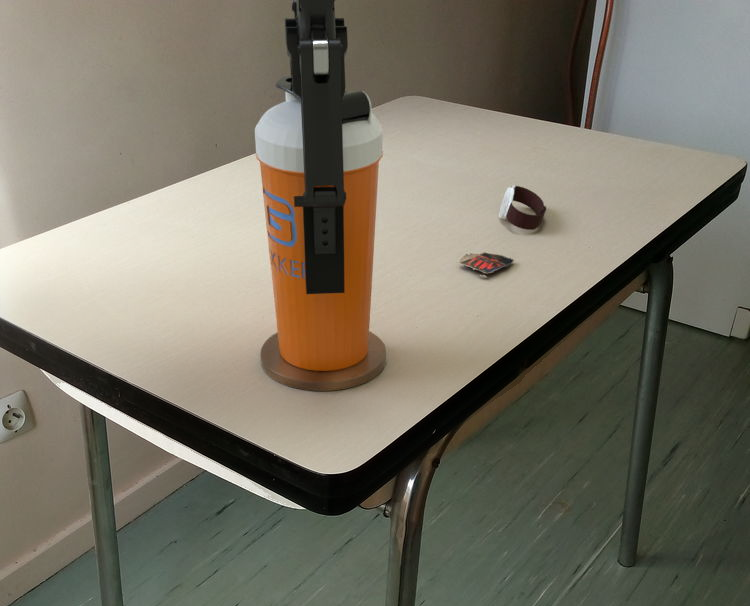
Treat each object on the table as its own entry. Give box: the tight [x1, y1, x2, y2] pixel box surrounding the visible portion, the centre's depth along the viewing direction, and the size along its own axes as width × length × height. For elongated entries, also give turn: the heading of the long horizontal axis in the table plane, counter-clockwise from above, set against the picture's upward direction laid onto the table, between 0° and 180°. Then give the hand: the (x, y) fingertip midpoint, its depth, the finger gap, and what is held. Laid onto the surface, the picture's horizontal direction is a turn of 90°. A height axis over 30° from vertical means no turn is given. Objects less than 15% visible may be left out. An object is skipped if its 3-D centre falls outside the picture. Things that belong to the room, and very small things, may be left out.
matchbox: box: [457, 251, 514, 280], centre depth 95 cm, size 5×5×1 cm
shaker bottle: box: [254, 75, 384, 371], centre depth 74 cm, size 9×9×20 cm
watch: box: [498, 185, 547, 231], centre depth 103 cm, size 8×5×4 cm, turn 177°
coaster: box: [260, 330, 387, 392], centre depth 80 cm, size 10×10×1 cm
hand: (321, 261), depth 75 cm, fingers open, 9 cm apart
